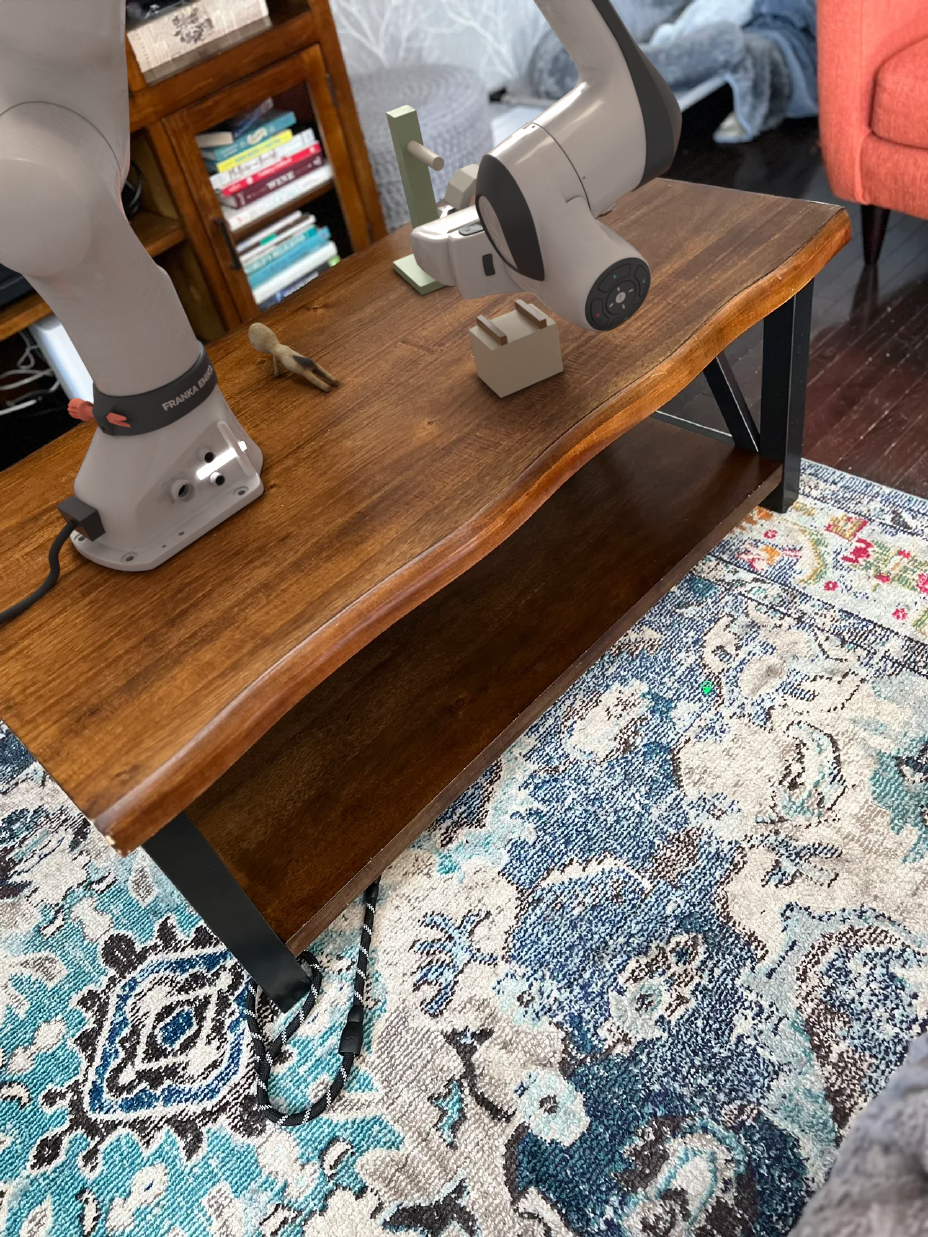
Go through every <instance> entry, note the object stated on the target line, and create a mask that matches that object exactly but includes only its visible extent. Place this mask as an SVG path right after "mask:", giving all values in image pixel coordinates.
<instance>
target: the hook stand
mask: <svg viewBox="0 0 928 1237" xmlns="http://www.w3.org/2000/svg"><path fill="white" fill-rule="evenodd" d="M385 115H386V119H387V123H388V128H389V133H390V136H391V141H392V145H393V149H394V154H395V158H396V163H397V166H398V170H399V174H400V180H401V183H402V188H403V192H404V196H405V201H406V206H407V210H408V214H409V218H410V223H411V226H412V230H413V229H414V228H416V227H418V226H421V225H424V224H426V223H429V222H432V221H434V220H437V219H439V217H438V212H437V208H438V206H437V201H436V197H435V192H434V187H433V183H432V182H433V181H432V177H431V174H430V169H429V168H431V169H433V170H434V171H436V172H440V171H441V170H443V168H444V167H445V160H444V158H443V157H442V156H440V155H439V154H437V153H436V152H434V151H432V150H430V149H429V148H427V147H426V146H425V145H424V144H425V143H424V140H423V136H422V131H421V127H420V121H419V117H418V112H417V109H415V108H414V107H412V106H410V105H409V104H405V105H402V106H400V107H397V108H395V109H392V110H388V111H386V112H385ZM392 266H393V269H394V271H395V272H396V273H397V274H398V275H400V276H401V278H403V279H404V280H405V281H406V282H407V283H408V284H410V285H411V287H412V288H414V289H415V290H416V291H417V292H418V293H419V294H420V295H422V296H424V295H427V294H428V293H431V292H434V291H436V290H439V289H441V288H444V287H446V286H447V285H445V284H442V283H440V282H438V281H437V280H435V279H434V278H432V277H431V276H429V275H428V274H427V273H425V272H424V271H423V270H422V269H421V268H420V267H419V266H418V265H417V263H416V260H415V257H414V254H413V253H412V254H409V255H406V256H403V257H401V258H399V259H396V260H394V261H392Z"/></svg>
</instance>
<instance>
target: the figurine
mask: <svg viewBox="0 0 928 1237" xmlns="http://www.w3.org/2000/svg"><path fill="white" fill-rule="evenodd" d="M247 335H248V340H249V343H250V345H251V347H252V348H254V349H255V350H256V351H257V352H258V353H259V352H260V354H261V353H262V354H265V355H269V354H272V356H273V357H272V361H273V367H274V371H273V375H274V377H279V375H280V364H281V365H282V366H283V367H284V368H286V369H287V370H288V371H290V372H292V373H294V374H297V375H300V376H303V377H304V378H305V379H306V380H308V381H309V382H311V383H312V384H313V385H315V386H317V387H318V388H320V389H321V390H323V392H326V393H329V391H330V390H331V386H330V385H329V384H328V383H326V382H325V381H323V380H322V379H324V380H326V381H328V382H329V383H331V384H332V385H334V386H339V385H340V381H339V379H337V378H336V377H335V376H334V375H333V374H331V373H330V372H328V371H327V370H326V368H324V367H323V366H321V365H320V364H319V363H318V362H316V361H315V360H313V359H311V358H309V357H307V356H304V355H302V354H300V353H299V352H298V351H297V350H296V348H294V347H293V346H288V345H286V344H282V343H280V341H279V339H278V337H277V335H276V334H275V332H273V331H272V329H270V328H269V327H268V326H266V325H265V324H263V323H261V322H254V323H253V324H251V325H250V326H249V328H248V334H247ZM319 377H320V378H322V379H320V378H319Z"/></svg>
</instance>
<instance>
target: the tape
mask: <svg viewBox="0 0 928 1237" xmlns="http://www.w3.org/2000/svg"><path fill="white" fill-rule="evenodd" d="M479 165H480V163H471V164H469V165H466V166H464V167H460V168H459V169H458V170H457V171H456V172H455V173H454V174H453V176H452V177H451V179H449V180H448V182H447V186H446V190H445V193H444V197H443V202H444V206H445V205H447V204H451V205H452V206H453V207H455V212H457V211H460V210H462V209H465V208H467V207H470V205H471V201H472V197H473V196H475V191H476V180H477V173H478V169H479Z"/></svg>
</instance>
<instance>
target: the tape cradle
mask: <svg viewBox="0 0 928 1237" xmlns="http://www.w3.org/2000/svg"><path fill="white" fill-rule="evenodd" d="M514 306H515V309H514V310H511V311H509V312H506V313H504V314H502V315H499V316H497V317H494V318H492V319H488V317H486V316H485V315H484V314H480V315H478V316H476V317H475V318H476V323H477V325H475V326H473V327H470V328H468V335H469V340H470V344H471V349H472V354H473V359H474V364H475V368H476V373H477V377H479V379H480V380H482V381H483V383H485V384H486V385H487V386H488V387H489V388H490V389H491V391H493V392H494V393H495V394H496V395H497V396H498V397H499V398H501V399H502V398H504V397H507V396H509V395H511V394H513V393H517V392H518V391H520V390H523V389H525V388H527V387H530V386H532V385H534V384H537V383H540V382H541V381H544V380H546V379H548V378H550V377H553V376H555V375H558V374H559V373H562V372H564V364H563V357H562V350H561V342H560V335H559V326H558V322H557V321H555V320H554V319H553V318H551V317H550V316H549V315H547V314H546V313H545V312H543V311H542V310H541V309H540V308H538V307H537V306H536V305H534V304H533V303H532V302H530V303H527V302H526V301H524V300H523V299H522V298H519V299H516V300H514Z"/></svg>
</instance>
